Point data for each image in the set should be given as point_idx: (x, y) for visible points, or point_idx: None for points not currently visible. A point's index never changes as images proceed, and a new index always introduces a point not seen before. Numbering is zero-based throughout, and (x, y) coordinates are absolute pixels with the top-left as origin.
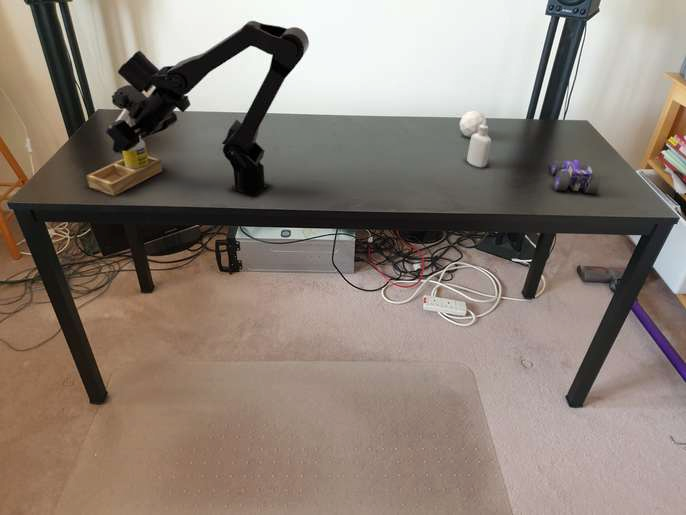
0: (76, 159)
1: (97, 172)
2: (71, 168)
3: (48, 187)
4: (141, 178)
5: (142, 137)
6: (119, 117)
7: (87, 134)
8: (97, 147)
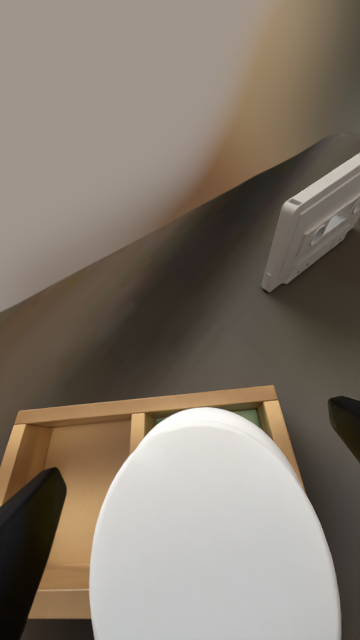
0: (160, 261)
1: (52, 421)
2: (121, 289)
3: (23, 334)
4: None
5: (347, 444)
6: (340, 170)
7: (254, 188)
8: (233, 240)
